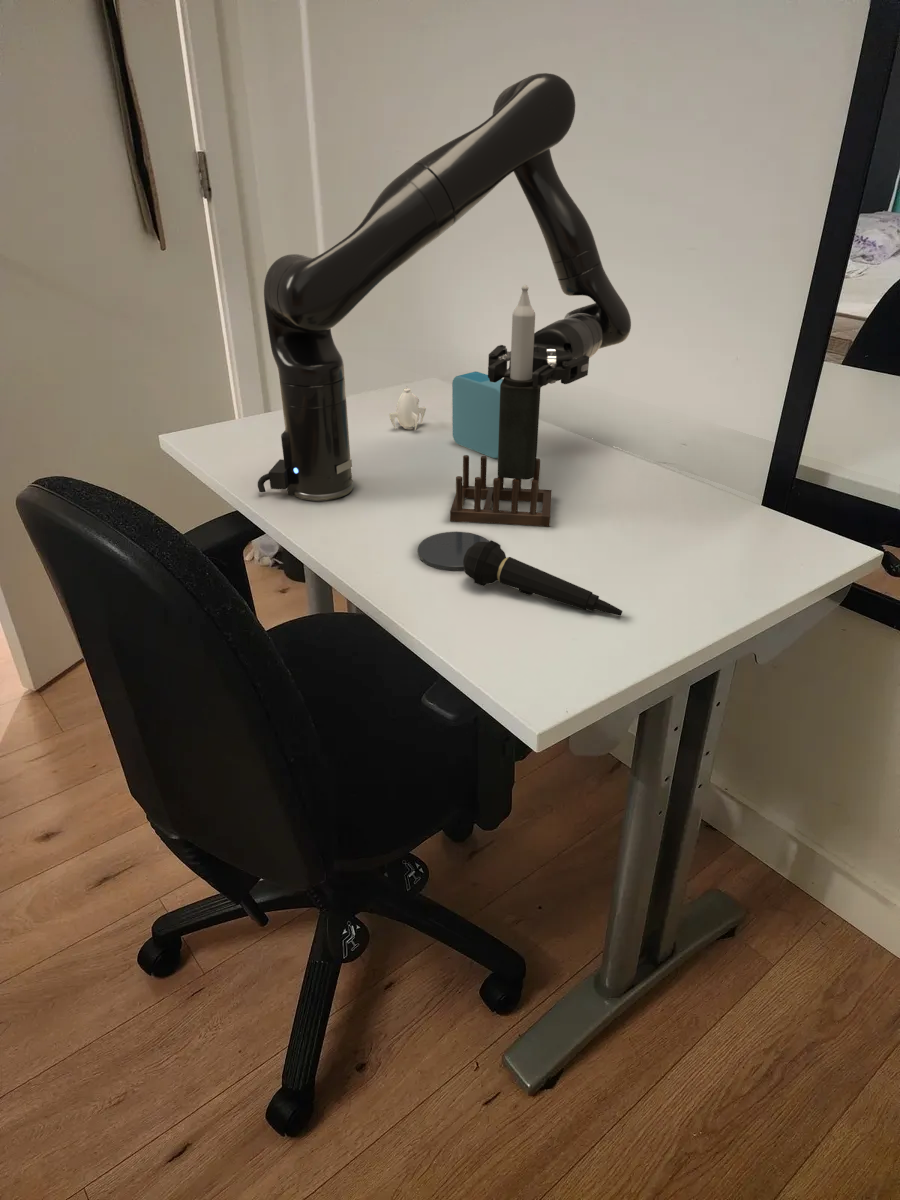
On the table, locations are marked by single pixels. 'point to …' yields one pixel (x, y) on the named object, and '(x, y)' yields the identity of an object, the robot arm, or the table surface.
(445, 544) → the slate coaster
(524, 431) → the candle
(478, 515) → the drying rack
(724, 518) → the table surface
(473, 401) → the data package
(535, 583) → the microphone
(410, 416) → the rocket toy
